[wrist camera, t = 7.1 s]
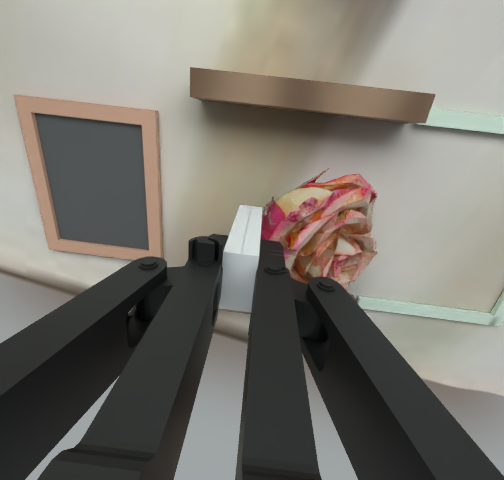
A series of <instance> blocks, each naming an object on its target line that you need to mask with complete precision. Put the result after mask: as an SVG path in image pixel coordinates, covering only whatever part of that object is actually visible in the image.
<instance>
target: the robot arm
mask: <svg viewBox="0 0 504 480" xmlns="http://www.w3.org/2000/svg"><path fill="white" fill-rule="evenodd" d="M262 209H263V208H262V207H254V206H246V205H240V206H239V209H238V212H237V214H236V217H235V220H234V223H233V226H232V228H231V231H230V234H229V236H225V235H217V234H212V235H210V236H209V237H207V236H201V237H195V238H192V239H191V240H189V257H188V261H187V263H186V265H185V266H182V267H169V268H167V262H166V261H165V260H164V259H162V258H159V257H154V256H150V257H149V256H146V257H143V258H139V259H136V260H134V261H132V262H131V263H129V264H128V265H126V266H124V267H123V268H121V269H120V270H118V271H116V272H115V273H113V274H112V275H110V276H108V277H107V278H105V279H104V280H102V281H100V282H99V283H97V284H95V285H94V286H92V287H91V288H89V289H87V290H86V291H84V292H83V293H81V294H79V295H78V296H76V297H75V298H73V299H71V300H70V301H68V302H67V303H65V304H63V305H62V306H60V307H59V308H57V309H55V310H54V311H52V312H51V313H49V314H47V315H46V316H44V317H42V318H41V319H39V320H38V321H36V322H35V323H33V324H31V325H30V326H28V327H26V328H25V329H23V330H21V331H20V332H18V333H17V334H15V335H13V336H12V337H10V338H9V339H7V340H6V341H4V342H2V343H1V344H0V480H25V479H26V478H27V477H28V475H29V474H30V473H31V472H32V471H33V470H34V469H35V468H36V467H37V466H38V464H39V463H40V462H41V461H42V460H43V459H44V458H45V457H46V456H47V454H48V453H49V452H50V451H51V450H52V449H53V448H54V447H55V445H57V444H58V442H59V441H60V440H61V439H62V438H63V437H64V436H65V435H66V434H67V433H68V431H69V430H70V429H71V428H72V427H73V426H74V425H75V424H76V423H77V422H78V420H79V419H80V418H81V417H82V416H83V415H84V414H85V413H86V412H87V411H88V409H89V408H90V407H91V406H92V405H93V404H94V403H95V402H96V401H97V399H98V398H99V397H100V396H101V395H102V394H103V393H104V392H105V391H106V390H107V389H108V387H109V386H110V385H111V384H112V383H113V382H114V381H115V380H116V379H117V377H118V376H119V375H120V376H119V378H118V379H117V381H116V383H115V384H114V386H113V388H112V389H111V391H110V393H109V395H108V396H107V398H106V400H105V401H104V403H103V405H102V406H101V408H100V410H99V411H98V413H97V415H96V417H95V418H94V420H93V421H92V423H91V425H90V427H89V428H88V430H87V432H86V433H85V435H84V437H83V438H82V439H81V441H80V442H79V443H78V444H77V445H76V446H75V447H74V448H71V449H67V450H64V451H61V452H60V453H59V454H58V455H57V456H56V457H55V458H54V459H52V460H51V462H50V463H49V465H48V466H47V467H46V469H45V470H44V471H43V472H42V474H41V475H40V477H39V478H38V480H173V479H174V476H175V472H176V468H177V465H178V461H179V457H180V453H181V450H182V446H183V442H184V438H185V435H186V431H187V427H188V424H189V420H190V416H191V412H192V409H193V405H194V401H195V398H196V394H197V390H198V386H199V383H200V379H201V375H202V371H203V368H204V364H205V360H206V356H207V353H208V349H209V345H210V342H211V338H212V334H213V331H214V327H215V323H216V320H217V314H218V305H219V308H220V309H228V310H235V311H243V312H251V318H250V325H249V332H248V335H249V338H248V349H247V359H246V370H245V381H244V392H243V402H242V414H241V424H240V434H239V445H238V455H237V467H236V477H235V480H322V479H321V476H320V473H319V468H318V461H317V454H316V449H315V448H316V447H315V441H314V434H313V427H312V420H311V413H310V407H309V399H308V392H307V385H306V379H305V372H304V365H303V358H302V353H303V355H304V358H305V360H306V362H307V364H308V367H309V369H310V371H311V373H312V376H313V378H314V380H315V382H316V385H317V387H318V389H319V391H320V394H321V396H322V398H323V401H324V403H325V405H326V407H327V410H328V412H329V414H330V417H331V419H332V421H333V423H334V426H335V428H336V430H337V432H338V435H339V437H340V439H341V442H342V444H343V446H344V448H345V450H346V453H347V455H348V457H349V460H350V462H351V464H352V466H353V469H354V471H355V473H356V476H357V478H358V480H504V476H503V475H502V474H501V473H500V472H499V470H498V469H497V468H496V467H495V466H494V465H493V463H492V462H491V461H490V460H489V458H488V457H487V456H486V455H485V454H484V453H483V451H482V450H481V449H480V448H479V447H478V446H477V444H476V443H475V442H474V441H473V440H472V439H471V437H470V436H469V435H468V434H467V433H466V431H465V430H464V429H463V428H462V427H461V425H460V424H459V423H458V422H457V421H456V420H455V419H454V417H453V416H452V415H451V414H450V413H449V412H448V410H447V409H446V408H445V407H444V405H443V404H442V403H441V402H440V401H439V399H438V398H437V397H436V396H435V395H434V394H433V392H432V391H431V390H430V389H429V388H428V387H427V385H426V384H425V383H424V382H423V381H422V379H421V378H420V377H419V376H418V375H417V374H416V372H415V371H414V370H413V369H412V368H411V366H410V365H409V364H408V363H407V362H406V361H405V359H404V358H403V357H402V356H401V355H400V353H399V352H398V351H397V350H396V349H395V348H394V346H393V345H392V344H391V343H390V342H389V340H388V339H387V338H386V337H385V336H384V335H383V333H382V332H381V331H380V330H379V329H378V327H377V326H376V325H375V324H374V323H373V322H372V320H371V319H370V318H369V317H368V316H367V315H366V313H365V312H364V311H363V310H362V309H361V307H360V306H359V305H358V304H357V303H356V302H355V300H354V299H353V298H352V297H351V296H350V294H349V293H348V292H347V291H346V290H345V289H344V287H343V286H342V285H341V284H339V283H338V282H337V281H335V280H333V279H331V278H328V277H313V278H311V279H310V280H309V282H308V284H306V283H303V282H300V281H297V280H295V279H293V278H292V277H291V275H290V271H289V269H288V268H287V267H286V266H285V257H284V249H283V245H282V244H281V243H280V242H279V241H271V240H263V239H260V238H261V224H262ZM132 307H133V310H132V311H131V312H130V313H128V312H129V311H130V310H131V308H132Z"/></svg>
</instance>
